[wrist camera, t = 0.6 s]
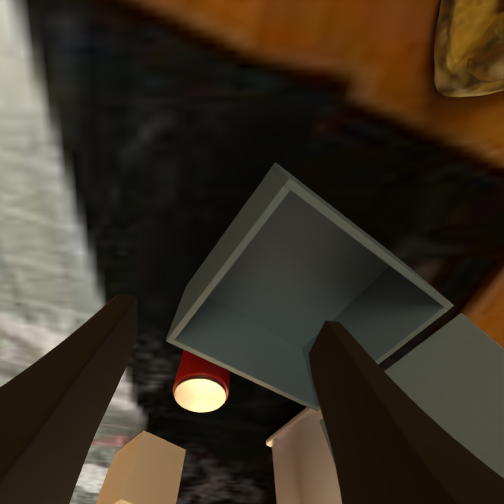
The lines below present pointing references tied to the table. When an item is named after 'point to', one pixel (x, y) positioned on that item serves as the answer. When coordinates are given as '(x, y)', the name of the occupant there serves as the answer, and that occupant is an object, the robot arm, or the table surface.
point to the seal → (469, 48)
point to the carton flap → (458, 387)
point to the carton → (297, 290)
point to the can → (200, 384)
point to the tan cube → (144, 472)
